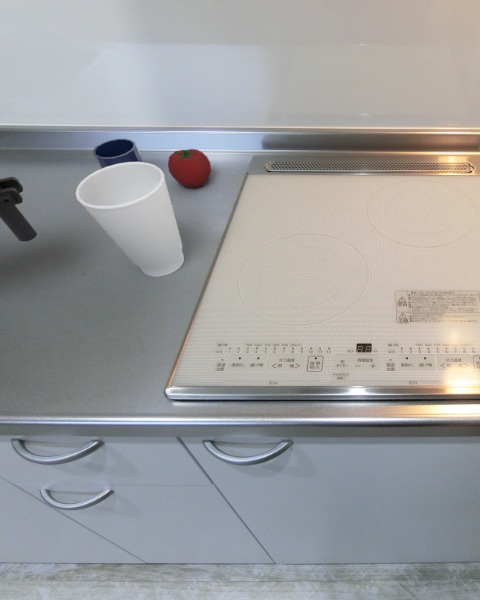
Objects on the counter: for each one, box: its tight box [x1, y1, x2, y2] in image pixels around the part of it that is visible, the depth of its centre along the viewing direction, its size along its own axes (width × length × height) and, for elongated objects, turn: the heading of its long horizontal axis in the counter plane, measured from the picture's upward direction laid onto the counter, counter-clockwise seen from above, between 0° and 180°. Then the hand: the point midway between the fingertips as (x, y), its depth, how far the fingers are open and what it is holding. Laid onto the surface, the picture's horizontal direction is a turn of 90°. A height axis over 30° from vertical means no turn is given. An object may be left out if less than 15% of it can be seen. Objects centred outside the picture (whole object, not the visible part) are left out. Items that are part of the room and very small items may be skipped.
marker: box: [0, 187, 38, 243], centre depth 62 cm, size 2×2×12 cm
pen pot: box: [92, 138, 146, 169], centre depth 88 cm, size 8×8×8 cm
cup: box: [75, 161, 185, 278], centre depth 69 cm, size 12×12×16 cm
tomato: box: [167, 148, 212, 189], centre depth 89 cm, size 8×8×7 cm
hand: (18, 189), depth 61 cm, fingers closed on marker, 2 cm apart
